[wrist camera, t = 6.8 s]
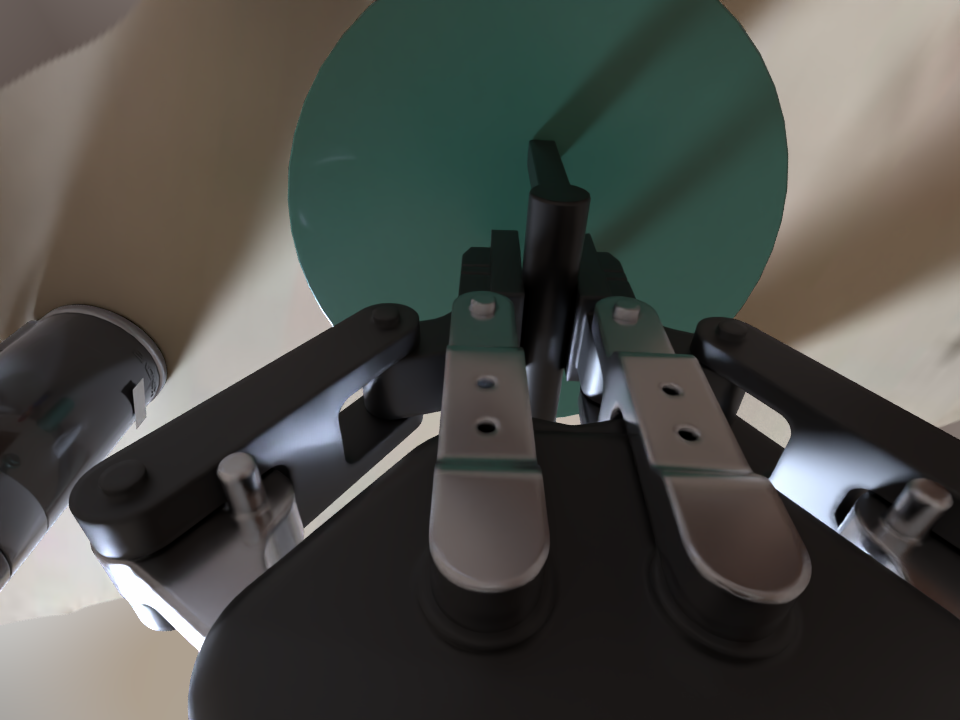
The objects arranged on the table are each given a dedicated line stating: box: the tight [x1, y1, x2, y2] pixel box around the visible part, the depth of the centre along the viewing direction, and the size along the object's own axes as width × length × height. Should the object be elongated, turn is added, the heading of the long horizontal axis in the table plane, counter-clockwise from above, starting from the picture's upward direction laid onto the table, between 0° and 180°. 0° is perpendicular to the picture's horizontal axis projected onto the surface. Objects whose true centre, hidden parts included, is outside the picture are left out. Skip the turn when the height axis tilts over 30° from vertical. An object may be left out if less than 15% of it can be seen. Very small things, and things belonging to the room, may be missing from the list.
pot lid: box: [288, 0, 788, 422], centre depth 14 cm, size 14×14×6 cm
